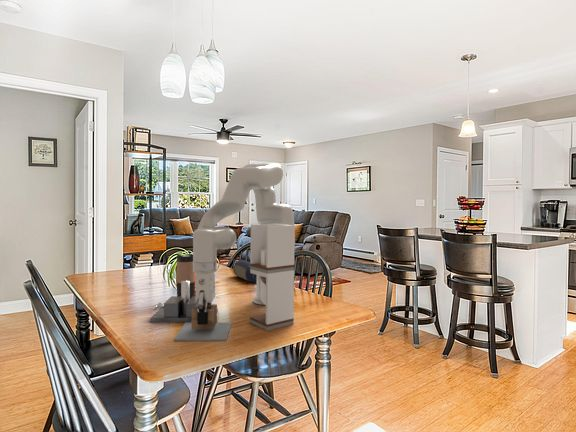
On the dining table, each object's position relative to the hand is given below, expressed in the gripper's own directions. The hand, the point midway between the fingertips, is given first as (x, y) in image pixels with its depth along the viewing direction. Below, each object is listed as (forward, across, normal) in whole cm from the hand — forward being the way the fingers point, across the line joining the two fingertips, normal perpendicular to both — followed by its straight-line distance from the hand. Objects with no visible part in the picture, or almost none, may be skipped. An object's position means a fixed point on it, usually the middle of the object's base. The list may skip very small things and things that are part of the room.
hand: (204, 320), depth 124 cm
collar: (+2, 0, 0) cm, 2 cm away
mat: (+4, 0, 0) cm, 4 cm away
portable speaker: (+5, +84, -8) cm, 85 cm away
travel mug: (+4, +38, +15) cm, 41 cm away
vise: (+4, +16, +10) cm, 19 cm away
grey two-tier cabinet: (+4, +9, -22) cm, 24 cm away
